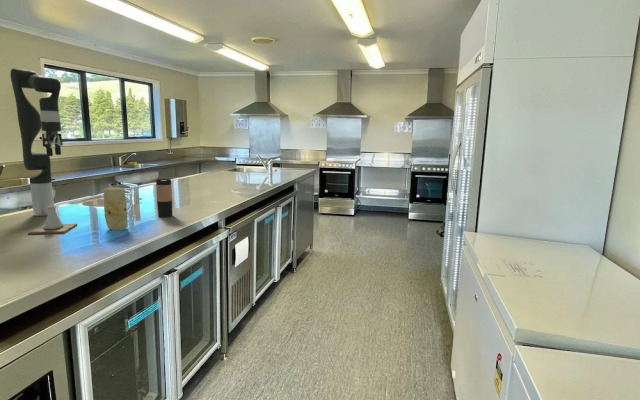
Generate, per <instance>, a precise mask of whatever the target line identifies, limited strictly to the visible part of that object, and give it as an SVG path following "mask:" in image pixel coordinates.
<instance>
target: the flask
mask: <svg viewBox="0 0 640 400" xmlns="http://www.w3.org/2000/svg"><path fill="white" fill-rule="evenodd" d="M56 207H57V206H56V205H54V206H48V207H47V208H48V215H46V219H45V223H44V224H43V225H44V229H57V228H61V227H63V224H64V223H63V222H62V221H61V218H59V215H58V213H57V210H56Z"/></svg>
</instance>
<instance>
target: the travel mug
mask: <svg viewBox="0 0 640 400" xmlns="http://www.w3.org/2000/svg"><path fill="white" fill-rule="evenodd" d="M155 184H156V204H157V215H158V217H159V218H170V217H173V191H172V190H173V189H172V180H171V178H160V179H159V178H158V179H156V180H155Z"/></svg>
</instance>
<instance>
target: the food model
mask: <svg viewBox="0 0 640 400" xmlns="http://www.w3.org/2000/svg"><path fill="white" fill-rule="evenodd" d="M127 204H128V203H127V197H126V190H125V188H123V187H118V186H109V187H106V188H103V212H104V217H105V224H106V226H107V228H108V230H109V229H110V230H112V231H115V232H116V231H121V230H124V229H127V228H128V227H129V226H128V225H129V224H128V205H127Z"/></svg>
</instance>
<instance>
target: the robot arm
mask: <svg viewBox="0 0 640 400" xmlns="http://www.w3.org/2000/svg"><path fill="white" fill-rule="evenodd" d="M9 75H10V81H11V86H12V89H13V90H12V91H13V95H14V99H15V104H16V105H15V106H16V113H17V122H18V126H19V131H20V137H21V144H22V159H23V160H22V161H23V164H24V168H25V169H26V170H27V171H40V172H39V173H38V174H36V175H34V176H31V177H30V178H29V186H30V196H31V203H32V212H33V216H37V217H41V216H42V217H43V216H48V208H47V207H48V206H55V203H54V201H55V200H54V192H53V183H52V181H53V180H52V169H51V168H52V166H51V163H52V162H51V157H53V155H54V154H55V155H56V156H60V155H62V151H61V148H62V146H63V145H64V144H63V137H62V133H60V132H61V131H62V125H61V124H62V123H61V115H60V111H59V110H60V109H59V99H60V98H59V96H60V92H61V89H62V87H61V86H62V85H61V82H60V81H59V79H58V78H57V77H51V76H50V77H49V76H44V75H42V74H41V75H40V74H39V73H37V72H36V71H35V70H30V69H24V68H23V69H22V68H15V67H14V68H11V70H10V74H9ZM23 89H30V90H31V89H32V90H33V89H34V91H36V92H38V93H46V94H47V93H48V94H50V96H47V97H41V98H39V110H40V112H39V111H38V110H37V109H36V107H35V106H34V105H33V104H32V103H31V102H30V101H29V99H28V98H27V97H26V95H25V93H24V90H23ZM40 131H41V132H45V133H41V137H42V147H43V148H45V149H46V151H38V152H37V151H36V152H35V151H34V152H33V151H32V146H33V143H34V141H35V139H36V137H37V136H38V135H39V133H40ZM53 146H54V150H53ZM53 151H54V153H53Z"/></svg>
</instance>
